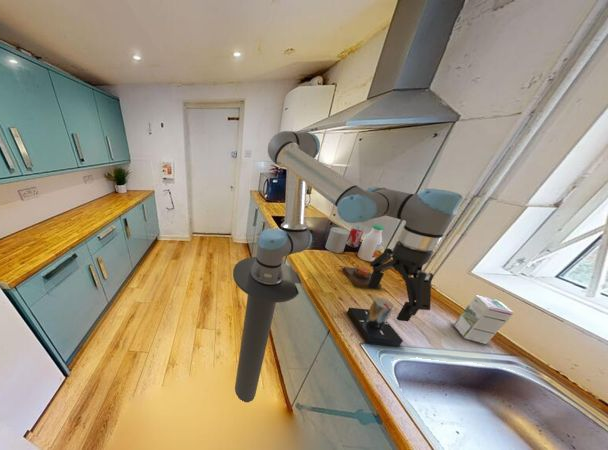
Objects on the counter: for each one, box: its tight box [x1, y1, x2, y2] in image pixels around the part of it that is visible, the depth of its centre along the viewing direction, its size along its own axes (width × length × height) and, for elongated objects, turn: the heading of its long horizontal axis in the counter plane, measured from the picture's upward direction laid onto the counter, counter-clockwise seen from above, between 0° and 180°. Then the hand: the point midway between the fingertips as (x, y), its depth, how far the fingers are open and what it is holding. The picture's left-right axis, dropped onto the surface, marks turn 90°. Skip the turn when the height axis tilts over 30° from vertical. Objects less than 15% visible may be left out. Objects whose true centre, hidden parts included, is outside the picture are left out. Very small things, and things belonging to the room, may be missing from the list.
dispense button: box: [357, 266, 370, 276], centre depth 91 cm, size 4×4×2 cm
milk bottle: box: [357, 223, 385, 263], centre depth 106 cm, size 8×8×20 cm
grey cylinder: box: [324, 226, 350, 254], centre depth 116 cm, size 10×10×12 cm
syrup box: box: [453, 294, 515, 345], centre depth 65 cm, size 6×6×14 cm
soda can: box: [346, 226, 364, 248], centre depth 120 cm, size 6×6×12 cm
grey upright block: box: [365, 297, 395, 329], centre depth 66 cm, size 5×5×9 cm
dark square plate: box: [342, 266, 382, 290], centre depth 93 cm, size 12×10×4 cm
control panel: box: [346, 307, 404, 348], centre depth 68 cm, size 12×10×3 cm
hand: (385, 302), depth 64 cm, fingers open, 13 cm apart
